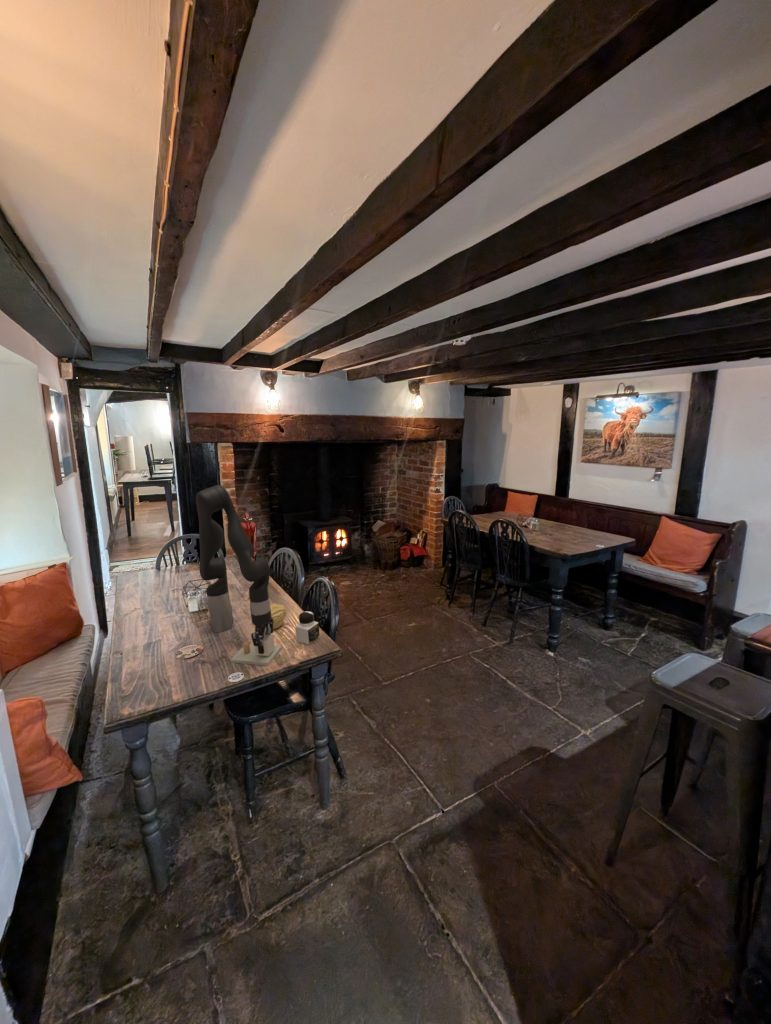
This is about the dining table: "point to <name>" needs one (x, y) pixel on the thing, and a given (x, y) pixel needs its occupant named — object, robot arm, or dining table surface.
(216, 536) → the robot arm
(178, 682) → the dining table surface
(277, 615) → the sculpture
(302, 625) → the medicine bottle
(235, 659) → the board
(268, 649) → the beige block
